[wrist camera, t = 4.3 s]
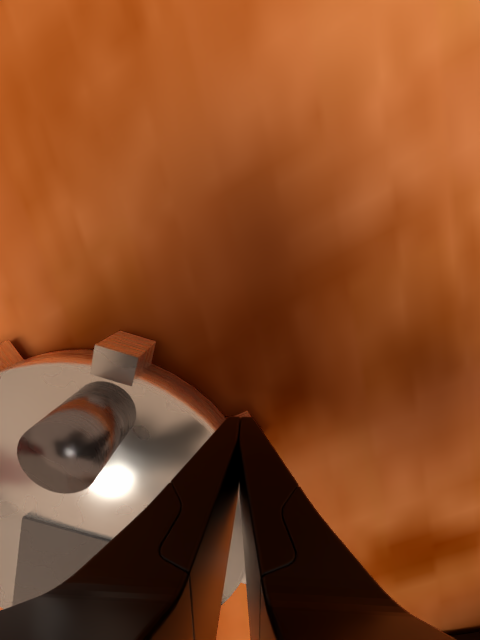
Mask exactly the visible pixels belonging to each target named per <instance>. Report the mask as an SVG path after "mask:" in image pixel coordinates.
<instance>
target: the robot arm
mask: <svg viewBox="0 0 480 640" xmlns="http://www.w3.org/2000/svg"><path fill="white" fill-rule="evenodd" d="M238 492H239V495H240V509H241V522H242V535H243V548H244V561H245V573H246V586H247V599H248V612H249V625H250V638H251V640H480V632H475V633H468V634H461V635H454V636H449V635H447V634H445V633H444V632H442V631H440V630H438V629H436V628H435V627H433V626H431V625H429V624H427V623H426V622H424V621H422V620H420V619H418V618H417V617H415V616H413V615H412V614H410V613H409V612H407V611H406V610H405V609H403V608H402V607H401V606H400V605H399V604H397V603H396V602H395V601H394V600H393V599H392V598H391V597H390V596H389V595H388V594H387V593H386V592H385V591H384V590H383V589H382V588H381V587H380V586H379V585H378V583H377V582H376V581H375V580H374V579H373V578H372V577H371V575H370V574H369V573H368V572H367V571H366V569H365V568H364V567H363V566H362V565H361V564H360V562H359V561H358V560H357V559H356V558H355V556H354V555H353V554H352V553H351V552H350V551H349V549H348V548H347V547H346V546H345V545H344V544H343V542H342V541H341V540H340V539H339V538H338V536H337V535H336V534H335V533H334V532H333V531H332V529H331V528H330V527H329V526H328V524H327V523H326V522H325V521H324V519H323V518H322V517H321V516H320V515H319V513H318V512H317V510H316V509H315V508H314V506H313V505H312V504H311V502H310V501H309V499H308V498H307V496H306V495H305V493H304V492H303V490H302V489H301V487H299V485H298V483H297V482H296V480H295V479H294V477H293V476H292V474H291V473H290V471H289V470H288V468H287V467H286V465H285V464H284V462H283V461H282V459H281V458H280V456H279V455H278V454H277V452H276V451H275V449H274V448H273V446H272V445H271V443H270V442H269V440H268V439H267V437H266V436H265V434H264V433H263V431H262V430H261V428H260V427H259V425H258V424H257V422H256V421H255V419H254V418H253V417H241V419H240V417H236V416H229V417H227V418H226V420H225V421H224V422H223V423H222V424H221V425H220V426H219V427H218V429H217V430H216V431H215V432H214V433H213V434H212V435H211V436H210V437H209V439H208V440H207V441H206V442H205V443H204V444H203V445H202V446H201V448H200V449H199V450H198V451H197V452H196V453H195V454H194V455H193V457H192V458H191V459H190V460H189V461H188V462H187V463H186V464H185V465H184V467H183V468H182V469H181V470H180V471H179V472H178V473H177V474H176V476H175V477H174V478H173V479H172V480H171V483H168V484H167V485H166V487H165V488H164V489H163V490H162V491H161V492H160V493H159V494H158V495H157V496H156V497H155V498H154V500H153V501H152V502H151V503H150V504H149V505H148V506H147V507H146V508H145V509H144V510H143V511H142V512H141V513H140V514H139V515H138V516H136V517H135V518H134V519H133V520H132V521H131V522H130V523H129V524H128V525H127V526H126V527H125V528H124V529H123V530H122V531H120V532H119V533H118V534H117V535H116V536H115V537H114V538H113V539H112V540H111V541H110V542H108V543H107V544H106V545H105V546H104V547H103V548H102V549H101V550H100V551H99V552H98V553H97V554H95V555H94V556H93V557H92V558H91V559H90V560H89V561H88V562H87V563H86V564H85V565H83V566H82V567H81V568H80V569H79V570H78V571H77V572H75V573H74V574H73V575H72V576H71V577H69V578H68V579H67V580H65V581H64V582H63V583H61V584H60V585H58V586H57V587H55V588H53V589H52V590H50V591H48V592H46V593H44V594H42V595H40V596H37V597H35V598H32V599H30V600H27V601H24V602H22V603H19V604H17V605H14V606H11V607H9V608H6V609H3V610H1V611H0V640H216V634H217V627H218V621H219V615H220V608H221V602H222V595H223V589H224V583H225V576H226V570H227V563H228V557H229V551H230V544H231V538H232V531H233V525H234V519H235V512H236V506H237V499H238Z"/></svg>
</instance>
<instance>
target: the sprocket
mask: <svg viewBox="0 0 480 640" xmlns="http://www.w3.org/2000/svg"><path fill="white" fill-rule="evenodd" d="M155 344H156V341H153V340H150V339H147V338H143V337H140V336H137V335H133V334H130V333H126V332H123V331H118V332H116V333H114V334H113V335H111V336H109V337H107V338H106V339H104V340H102V341H100V342H99V343H97V344H95V347H94V350H91V349H77V350H62V351H55V352H48V353H44V354H41V355H37V356H34V357H30V358H27V359H25V360H24V359H23V358H22V357H21V355H20V354H19V353H18V351H17V350H16V349H15V347H14V346H13V345H12V343H11V342H10V341H9V340H7V341H4V342H1V343H0V607H2V608H3V609H6V608H9V607H11V606H14V605H17V604H19V603H22V602H24V601H27V600H30V599H32V598H35V597H37V596H40V595H42V594H44V593H46V592H48V591H50V590H52V589H53V588H55V587H57V586H58V585H60V584H61V583H63V582H64V581H65V580H67V579H68V578H69V577H71V576H72V575H73V574H74V573H75V572H77V571H78V570H79V569H80V568H81V567H82V566H83V565H85V564H86V563H87V562H88V561H89V560H90V559H91V558H92V557H93V556H94V555H95V554H97V553H98V552H99V551H100V550H101V549H102V548H103V547H104V546H105V545H106V544H107V543H108V542H110V541H111V540H112V539H113V538H114V537H115V536H116V535H117V534H118V533H119V532H120V531H122V530H123V529H124V528H125V527H126V526H127V525H128V524H129V523H130V522H131V521H132V520H133V519H134V518H135V517H136V516H138V515H139V514H140V513H141V512H142V511H143V510H144V509H145V508H146V507H147V506H148V505H149V504H150V503H151V502H152V501H153V500H154V498H155V497H156V496H157V495H158V494H159V493H160V492H161V491H162V490H163V489H164V488H165V487H166V485H167V484H168V483H171V480H172V479H173V478H174V477H175V476H176V474H177V473H178V472H179V471H180V470H181V469H182V468H183V467H184V465H185V464H186V463H187V462H188V461H189V460H190V459H191V458H192V457H193V455H194V454H195V453H196V452H197V451H198V450H199V449H200V448H201V446H202V445H203V444H204V443H205V442H206V441H207V440H208V439H209V437H210V436H211V435H212V434H213V433H214V432H215V431H216V430H217V429H218V427H219V426H220V425H221V424H222V423H223V422H224V421H225V420H226V418H225V416H224V415H223V414H222V413H221V412H220V411H219V410H218V409H217V408H216V407H215V405H214V404H213V403H212V402H211V401H210V400H209V399H207V398H206V397H205V396H204V395H203V394H202V393H200V392H199V391H198V390H197V389H196V388H194V387H193V386H191V385H190V384H188V383H187V382H185V381H184V380H182V379H181V378H179V377H178V376H176V375H175V374H173V373H171V372H169V371H167V370H165V369H163V368H161V367H159V366H157V365H154V364H152V363H151V362H152V357H153V353H154V349H155ZM235 416H236V417H240V419H241V417H251V416H250V414H249V412H248V411H247V410H246V411H244V412H242V413H240V414H237V415H235ZM240 582H241V583H245V584H246V573H245V561H244V548H243V535H242V522H241V509H240V495H239V492H238V499H237V506H236V512H235V519H234V525H233V531H232V538H231V544H230V551H229V557H228V563H227V570H226V576H225V583H224V589H223V595H222V602H221V605H222V604H223V603H224V602H225V601H226V600H227V599H228V598H229V597H230V596H231V595H232V593H233V592H234V591H235V590H236V588H237V587H238V586H239V584H240Z"/></svg>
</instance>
